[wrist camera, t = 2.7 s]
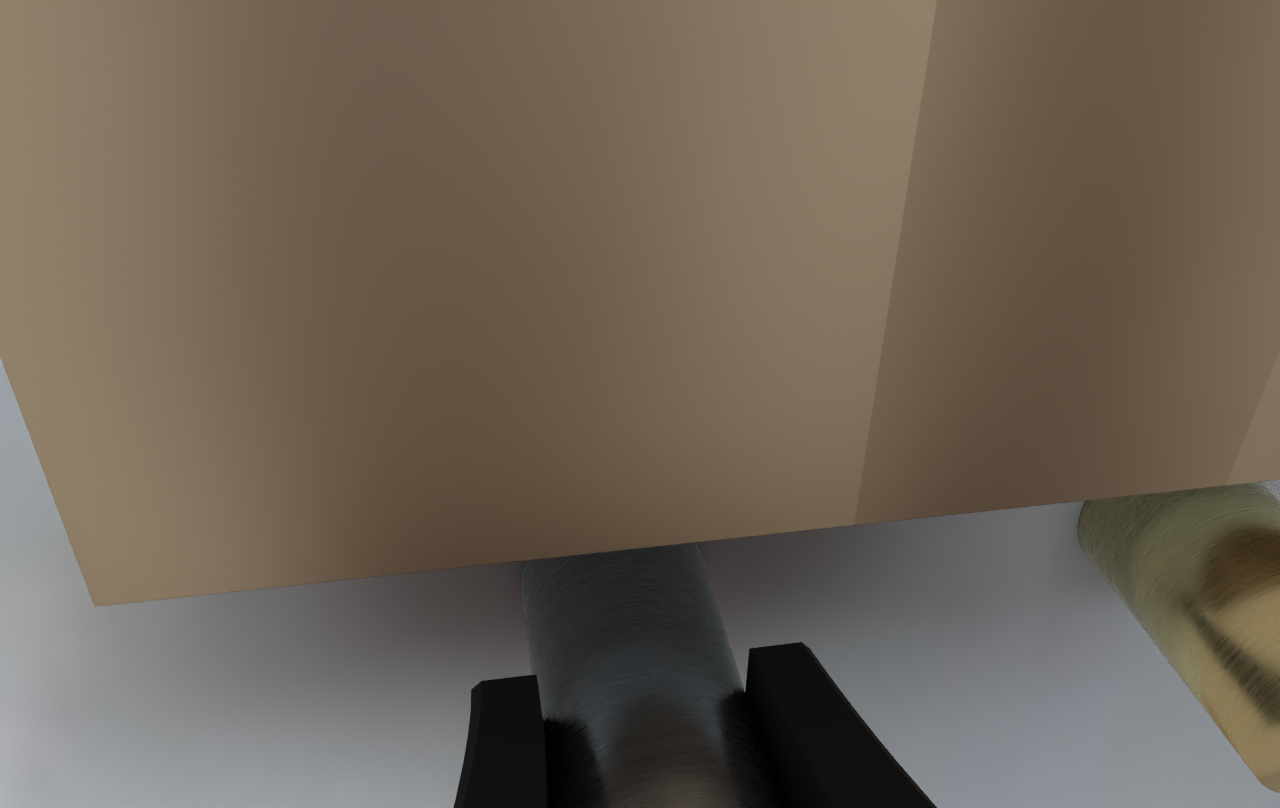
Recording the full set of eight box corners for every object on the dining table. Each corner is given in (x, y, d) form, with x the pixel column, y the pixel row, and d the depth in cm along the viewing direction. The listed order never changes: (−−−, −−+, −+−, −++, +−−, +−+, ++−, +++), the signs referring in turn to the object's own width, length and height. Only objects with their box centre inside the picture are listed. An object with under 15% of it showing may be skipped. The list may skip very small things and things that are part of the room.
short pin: (1260, 430, 15) (1493, 640, 12) (1207, 559, 16) (1404, 779, 13) (1101, 445, 15) (1297, 668, 11) (1061, 576, 16) (1225, 808, 13)
